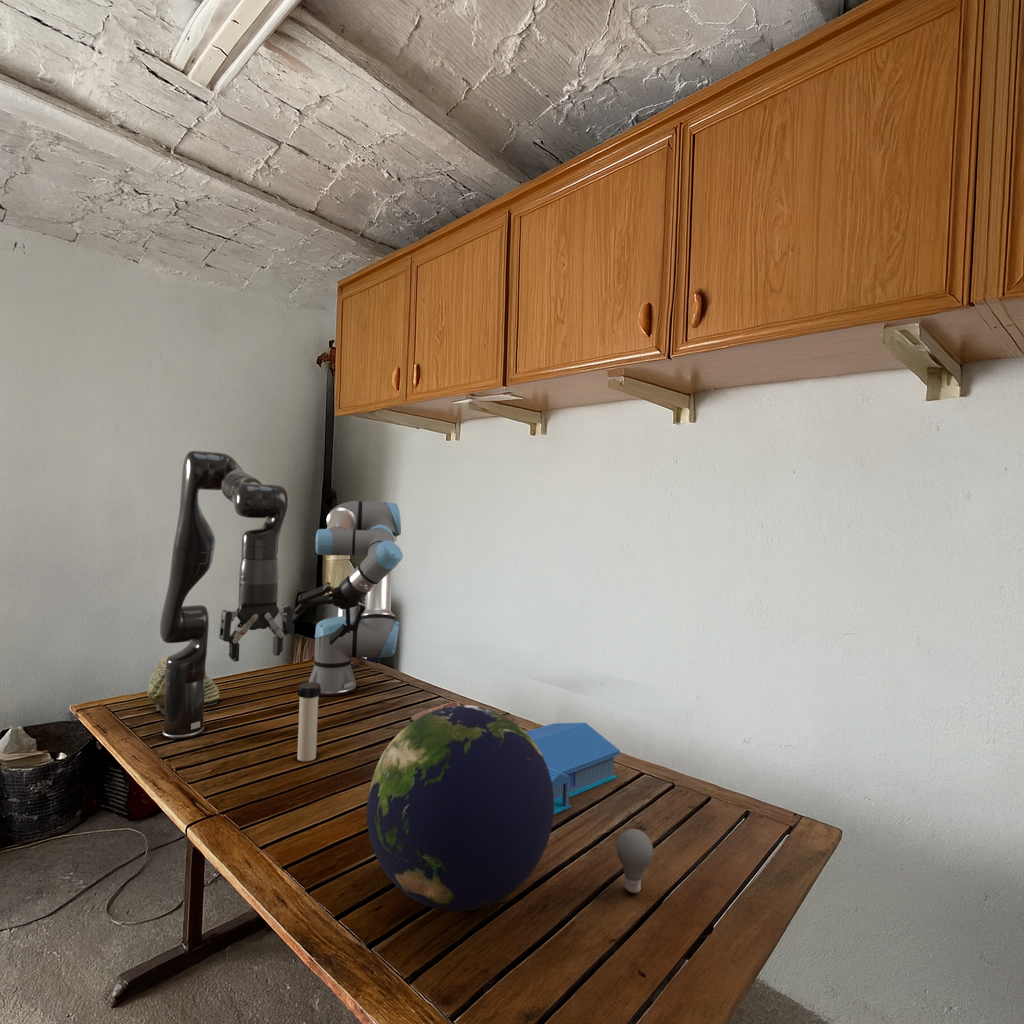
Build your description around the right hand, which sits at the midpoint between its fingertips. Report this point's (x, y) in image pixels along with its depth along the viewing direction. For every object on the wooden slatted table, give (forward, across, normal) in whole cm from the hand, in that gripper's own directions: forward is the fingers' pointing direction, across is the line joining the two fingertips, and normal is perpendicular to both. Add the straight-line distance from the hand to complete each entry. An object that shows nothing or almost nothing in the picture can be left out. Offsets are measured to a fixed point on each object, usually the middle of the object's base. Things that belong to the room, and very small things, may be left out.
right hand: (311, 631), depth 185 cm
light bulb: (-54, +26, -98) cm, 115 cm away
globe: (-35, +4, -93) cm, 100 cm away
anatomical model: (-9, +37, -23) cm, 44 cm away
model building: (-36, +34, -64) cm, 80 cm away
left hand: (-19, -27, -42) cm, 53 cm away
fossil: (+41, -13, -2) cm, 43 cm away
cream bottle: (+3, +2, -41) cm, 41 cm away
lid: (-9, -6, -32) cm, 34 cm away
